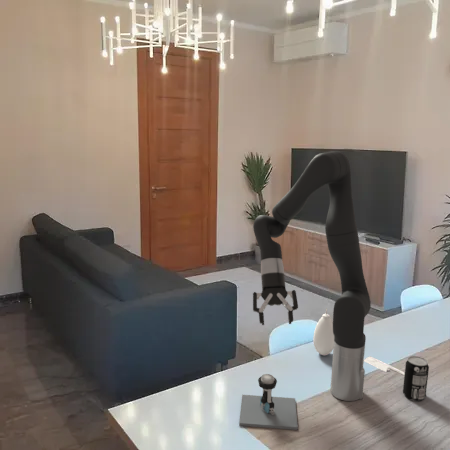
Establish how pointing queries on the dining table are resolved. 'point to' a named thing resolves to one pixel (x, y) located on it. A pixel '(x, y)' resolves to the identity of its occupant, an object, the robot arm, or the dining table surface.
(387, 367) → the white plastic strip tool
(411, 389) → the beverage can
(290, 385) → the dining table surface
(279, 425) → the rubber mat
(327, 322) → the sauce bottle
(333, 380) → the robot arm
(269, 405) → the push button
